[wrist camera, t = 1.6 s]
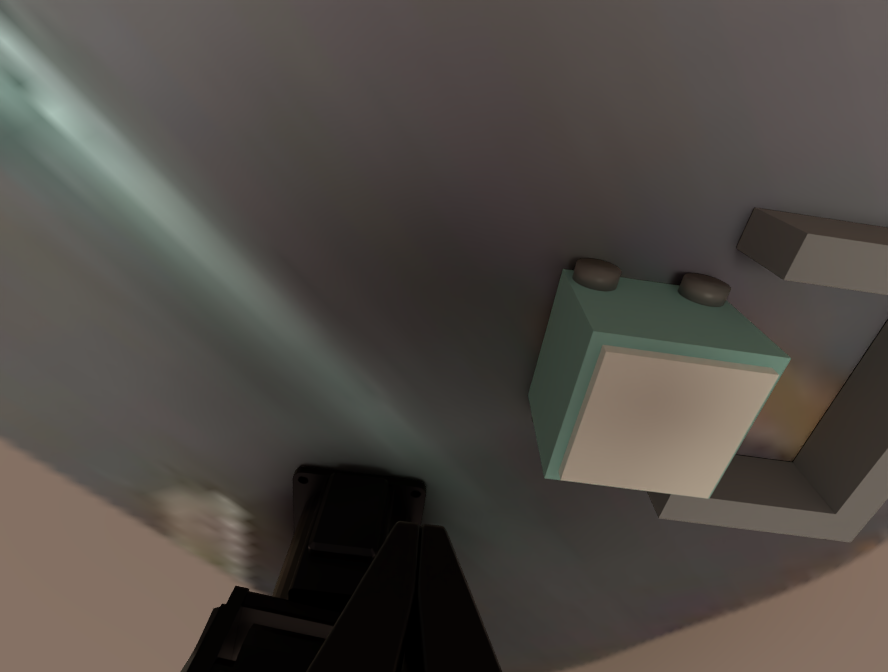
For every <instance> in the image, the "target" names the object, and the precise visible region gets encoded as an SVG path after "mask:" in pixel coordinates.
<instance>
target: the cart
mask: <svg viewBox="0 0 888 672" xmlns="http://www.w3.org/2000/svg"><path fill="white" fill-rule="evenodd" d="M621 273H622V271H621V269H620V268H619V267H617V266H615V265H613V264H611V263H609V262H606V261H602V260H598V259H592V258H582V259H579V260H577V262H576V266H575V269H574V270H567V269H563V270H562V274H561V277H560V281H559V285H558V288H557V292H556V296H555V299H554V303H553V306H552V310H551V314H550V317H549V321H548V325H547V328H546V332H545V335H544V339H543V343H542V346H541V350H540V354H539V357H538V361H537V364H536V368H535V372H534V375H533V379H532V383H531V386H530V390H529V393H528V398H529V403H530V408H531V413H532V421H533V423H534V428H535V433H536V438H537V443H538V449H539V454H540V459H541V464H542V469H543V474H544V478H546V479H554V480H562V481H570V482H578V483H586V484H594V485H602V486H610V487H618V488H626V489H634V490H642V491H650V492H658V493H666V494H674V495H682V496H690V497H698V498H706V499H709V498H710V497H711V495H712V493H713V491H714V490H715V488H716V486H717V485H718V483H719V481H720V479H721V478H722V476H723V474H724V473H725V471H726V469H727V467H728V466H729V464H730V462H731V461H732V459H733V457H734V455H735V454H736V452H737V450H738V449H739V447H740V445H741V443H742V442H743V440H744V438H745V437H746V435H747V433H748V431H749V430H750V428H751V426H752V425H753V423H754V421H755V419H756V418H757V416H758V414H759V413H760V411H761V409H762V407H763V406H764V404H765V402H766V401H767V399H768V397H769V396H770V394H771V392H772V390H773V389H774V387H775V385H776V384H777V382H778V380H779V378H780V377H781V375H782V373H783V372H784V370H785V368H786V366H787V365H788V363H789V361H790V360H791V358H790V357H789V356H788V355H787V354H786V353H785V352H783V351H782V350H781V349H780V348H779V347H778V346H777V345H776V344H775V343H773V342H772V341H771V340H770V339H769V338H768V337H767V336H766V335H765V334H763V333H762V332H761V331H760V330H759V329H758V328H757V327H756V326H754V325H753V324H752V323H751V322H750V321H749V320H748V319H747V318H746V317H744V316H743V315H742V314H741V313H740V312H739V311H738V310H737V309H736V308H734V307H733V306H732V305H731V304H730V303H729V302H728V301H727V300H726V299H727V297H728V295H729V292H730V290H731V287H730V286H729V285H728V284H726V283H725V282H723V281H721V280H718V279H716V278H713V277H710V276H707V275H702V274H696V273H687V274H685V275H684V277H683V279H682V282H681V284H680V286H679V285H672V284H665V283H658V282H651V281H644V280H637V279H630V278H623V277H620V276H621Z"/></svg>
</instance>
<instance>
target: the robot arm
mask: <svg viewBox="0 0 888 672" xmlns="http://www.w3.org/2000/svg"><path fill="white" fill-rule="evenodd" d="M302 476H304V477H302ZM305 477H306V478H305ZM414 490H417V492H416V491H414ZM425 497H426V486H425V484H424V483H422V482H420V481H416V480H408V479H400V478H392V477H384V476H376V475H368V474H360V473H352V472H345V471H337V470H329V469H321V468H313V467H299V468H298V469H296V471H295V474H294V476H293V512H294V536H293V539H292V542H291V544H290V547H289V550H288V553H287V555H286V558H285V561H284V564H283V567H282V569H281V572H280V575H279V578H278V581H277V583H276V586H275V589H274V592H273V595H272V596H268V595H264V594H259V593H255V592H250V591H249V589H248V588H244V587H239V586H235V588H234V590H233V592H232V594H231V595H230V597H229V600H228V602H227V603H226V604H222V605H221V606H220V607H217V608H214V609H213V611H212V613H211V615H210V617H209V620H208V622H207V624H206V626H205V629H204V631H203V633H202V635H201V637H200V639H199V641H198V643H197V645H196V647H195V649H194V651H193V653H192V654H191V656H190V658H189V659H188V661H187V663H186V664H185V666H184V667H183V669H182V670H181V672H502V670H501V667H500V665H499V662H498V660H497V657H496V654H495V652H494V649H493V647H492V644H491V642H490V639H489V637H488V634H487V632H486V629H485V627H484V624H483V622H482V619H481V616H480V614H479V611H478V609H477V606H476V604H475V601H474V599H473V596H472V594H471V591H470V589H469V586H468V584H467V581H466V579H465V576H464V573H463V571H462V568H461V566H460V563H459V561H458V558H457V556H456V553H455V551H454V548H453V546H452V543H451V541H450V538H449V535H448V533H447V531H446V529H445V528H444V527H443V526H437V525H429V524H424V525H422V526H421V520H422V515H423V509H424V503H425ZM420 526H421V528H420Z"/></svg>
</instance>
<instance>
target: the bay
mask: <svg viewBox="0 0 888 672" xmlns="http://www.w3.org/2000/svg"><path fill="white" fill-rule="evenodd" d="M736 248H737V249H738V250H740V251H741V252H743V253H744V254H746V255H747V256H749V257H750V258H752V259H753V260H755V261H756V262H758V263H759V264H761V265H762V266H764V267H765V268H767V269H768V270H770V271H771V272H773V273H774V274H776V275H777V276H779V277H780V278H781V279H783V280H788V281H795V282H801V283H808V284H815V285H822V286H829V287H836V288H842V289H849V290H856V291H863V292H870V293H877V294H884V295H888V228H886V227H880V226H873V225H867V224H860V223H853V222H847V221H840V220H834V219H827V218H820V217H814V216H807V215H801V214H794V213H787V212H781V211H774V210H768V209H761V208H754V210H753V212H752V214H751V217H750V219H749V221H748V223H747V225H746V228H745V230H744V232H743V234H742V236H741V239H740V241H739V243H738V245H737V247H736ZM647 493H648V495H649V497H650V500H651V502H652V504H653V507H654V509H655V511H656V513H657V516H658V518H660V519H668V520H676V521H684V522H692V523H700V524H708V525H716V526H724V527H732V528H740V529H748V530H756V531H764V532H772V533H780V534H788V535H796V536H804V537H812V538H820V539H828V540H836V541H844V542H851V541H852V540H853V539H854V538H855V537H856V535H857V534H858V533H859V532H860V531H861V529H862V528H863V527H864V526H865V525H866V523H867V522H868V521H869V520H870V519H871V518H872V516H873V515H874V514H875V513H876V512H877V510H878V509H879V508H880V507H881V506H882V504H883V503H884V502H885V501H886V500H887V499H888V321H887V322H886V324H885V325H884V327H883V328H882V330H881V331H880V333H879V334H878V336H877V337H876V339H875V340H874V342H873V343H872V345H871V346H870V348H869V349H868V351H867V352H866V354H865V355H864V357H863V358H862V360H861V361H860V363H859V364H858V366H857V367H856V369H855V370H854V371H853V373H852V374H851V376H850V377H849V379H848V380H847V382H846V383H845V385H844V386H843V388H842V389H841V391H840V392H839V394H838V395H837V397H836V398H835V400H834V401H833V403H832V404H831V406H830V407H829V409H828V410H827V412H826V413H825V415H824V416H823V418H822V419H821V421H820V422H819V424H818V425H817V427H816V428H815V430H814V431H813V433H812V434H811V436H810V437H809V439H808V440H807V442H806V443H805V445H804V446H803V448H802V449H801V451H800V452H799V454H798V455H797V457H796V458H795V460H794V461H793V462H786V461H779V460H771V459H763V458H756V457H748V456H741V455H734V457H733V459H732V461H731V462H730V464H729V466H728V467H727V469H726V471H725V473H724V474H723V476H722V478H721V479H720V481H719V483H718V485H717V486H716V488H715V490H714V491H713V493H712V495H711V497H710V498H709V499H706V498H698V497H690V496H682V495H674V494H666V493H658V492H650V491H647Z"/></svg>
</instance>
